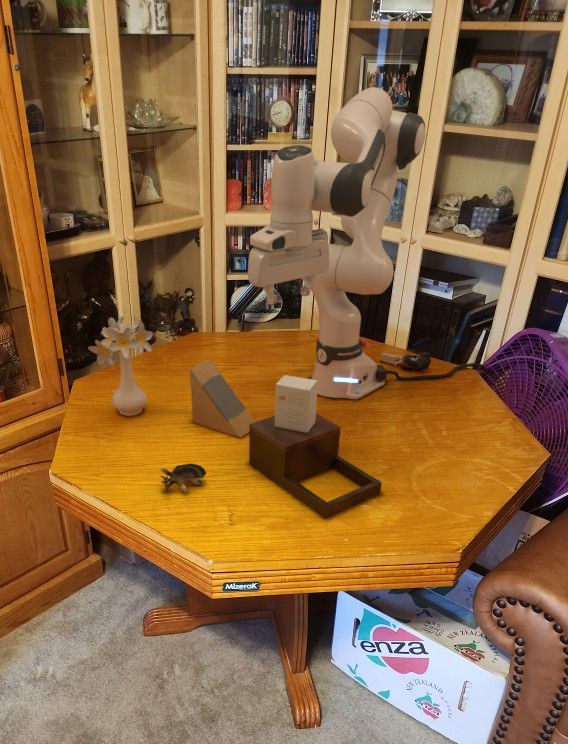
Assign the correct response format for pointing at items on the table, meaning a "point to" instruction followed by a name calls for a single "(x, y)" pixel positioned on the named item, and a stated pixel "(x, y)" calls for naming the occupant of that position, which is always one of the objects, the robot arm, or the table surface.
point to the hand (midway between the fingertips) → (288, 299)
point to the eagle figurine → (183, 475)
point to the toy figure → (409, 360)
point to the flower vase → (124, 362)
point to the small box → (295, 403)
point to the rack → (306, 462)
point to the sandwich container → (216, 401)
